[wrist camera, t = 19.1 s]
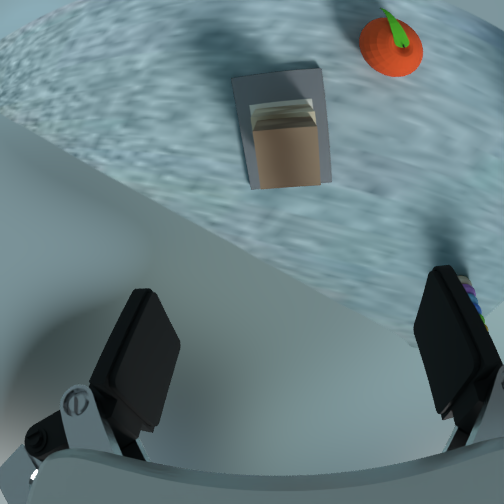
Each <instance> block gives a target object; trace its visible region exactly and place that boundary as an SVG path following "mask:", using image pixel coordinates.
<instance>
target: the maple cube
mask: <svg viewBox="0 0 504 504" xmlns="http://www.w3.org/2000/svg"><path fill="white" fill-rule="evenodd" d="M307 116H311V117H312V119H313V120H314V122H315V124H316V117H315V111H314V110H313V108H312V107H311V106H310V105H309V104H300V105H289V106H279V107H269V108H261V109H255V111H254V112H253V114H252V116H251V124H252V130H253V129H254V127H255V124H256V122H257V121H258V120H268V119H279V118H291V117H307Z"/></svg>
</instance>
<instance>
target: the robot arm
mask: <svg viewBox="0 0 504 504" xmlns="http://www.w3.org/2000/svg"><path fill="white" fill-rule="evenodd" d="M414 335H415V338H416V341H417V344H418V347H419V350H420V354H421V357H422V360H423V363H424V367H425V370H426V374H427V377H428V380H429V384H430V388H431V392H432V396H433V400H434V404H435V408H436V411H437V413H438V414H441V417H442V420H446V419H449V418H452V417H454V422H455V428H454V430H453V432H452V434H451V436H450V438H449V440H448V442H447V444H446V446H445V448H444V449H443V451H442V453H440V454H436V455H433V456H429V457H425V458H421V459H416V460H412V461H408V462H403V463H399V464H394V465H389V466H384V467H378V468H372V469H366V470H359V471H351V472H341V473H331V474H318V475H297V476H259V475H240V474H226V473H215V472H207V471H198V470H192V469H184V468H179V467H173V466H167V465H162V464H157V463H152V462H151V460H150V459H149V456H148V455H147V453H146V451H145V449H144V447H143V445H142V443H141V441H140V438H139V433H140V430H142V431H147V432H152V433H153V431H154V427H155V426H157V425H158V424H159V421H160V418H161V414H162V411H163V407H164V403H165V400H166V396H167V392H168V388H169V385H170V382H171V378H172V375H173V371H174V368H175V364H176V361H177V358H178V354H179V351H180V340H179V338H178V336H177V334H176V332H175V330H174V328H173V326H172V324H171V322H170V321H169V318H168V316H167V314H166V312H165V310H164V308H163V306H162V304H161V302H160V300H159V298H158V296H157V294H156V293H155V292H153V291H152V290H151V289H149V288H148V289H147V288H145V289H135V290H133V292H132V294H131V295H130V297H129V299H128V301H127V303H126V305H125V307H124V309H123V311H122V313H121V315H120V317H119V319H118V321H117V323H116V325H115V327H114V329H113V331H112V333H111V335H110V337H109V339H108V341H107V343H106V345H105V348H104V350H103V352H102V354H101V356H100V358H99V360H98V363H97V365H96V367H95V369H94V371H93V374H92V376H91V378H90V380H89V382H90V385H89V387H87V386H85V385H82V384H80V385H75V386H72V387H71V388H69V389H68V390H67V391H66V392H65V393H64V395H63V396H62V398H61V402H60V410H59V411H57V412H55V413H53V414H52V415H50V416H48V417H47V418H45V419H43V420H42V421H40V422H38V423H36V424H35V425H33V426H32V427H31V428H30V429H29V430H28V431H27V434H26V436H25V446H24V445H23V444H21V445H20V447H19V448H18V449H17V450H16V451H15V452H14V453H13V454H12V455H11V456H10V457H9V458H8V459H7V461H6V462H5V463H4V464H3V465H2V466H1V467H0V489H1V491H2V493H3V495H4V497H5V499H6V500H7V502H8V504H504V365H503V364H502V361H501V359H500V357H499V354H498V352H497V350H496V347H495V345H494V343H493V341H492V339H491V337H490V335H489V332H488V330H487V328H486V326H485V324H484V322H483V320H482V318H481V316H480V315H479V313H478V311H477V309H476V307H475V305H474V304H473V302H472V301H471V299H470V297H469V295H468V293H467V292H466V290H465V288H464V286H463V285H462V283H461V281H460V280H459V278H458V276H457V275H456V273H455V271H454V270H453V268H452V267H451V266H450V265H444V266H436V267H434V268H433V270H432V271H431V272H429V274H428V278H427V282H426V285H425V289H424V293H423V296H422V300H421V303H420V307H419V310H418V313H417V317H416V320H415V323H414Z"/></svg>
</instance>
